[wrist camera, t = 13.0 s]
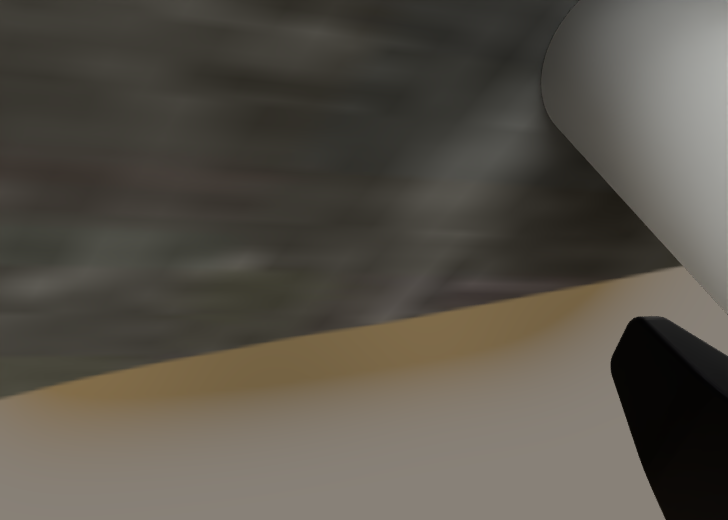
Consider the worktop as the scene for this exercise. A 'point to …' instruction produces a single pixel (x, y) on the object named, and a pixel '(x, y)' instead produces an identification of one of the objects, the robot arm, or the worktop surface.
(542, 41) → the worktop surface
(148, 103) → the worktop surface
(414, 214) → the worktop surface
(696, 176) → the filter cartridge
